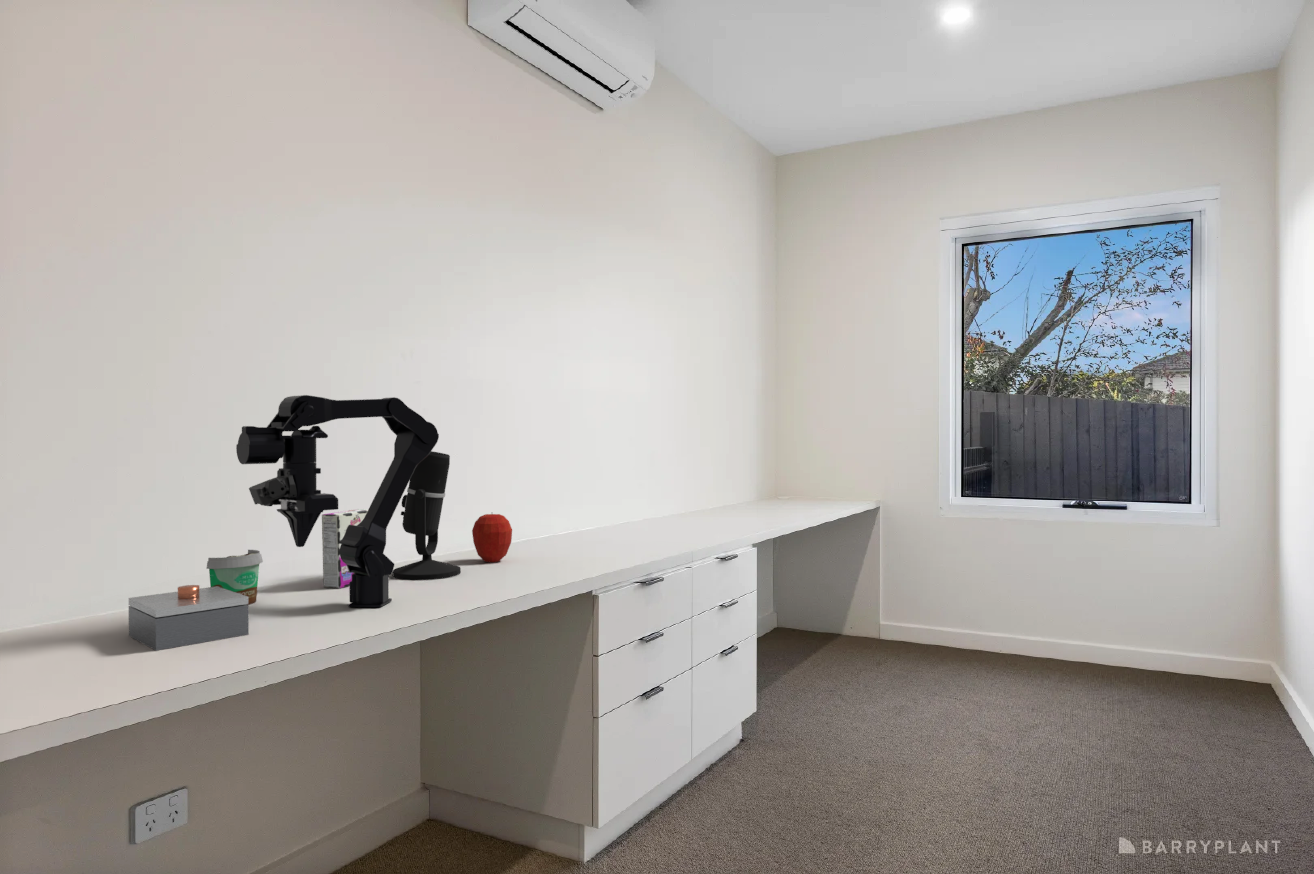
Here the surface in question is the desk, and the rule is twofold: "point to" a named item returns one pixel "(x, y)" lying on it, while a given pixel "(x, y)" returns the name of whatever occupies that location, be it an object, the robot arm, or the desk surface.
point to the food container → (236, 573)
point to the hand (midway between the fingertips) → (300, 546)
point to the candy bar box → (337, 546)
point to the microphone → (426, 518)
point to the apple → (492, 537)
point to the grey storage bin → (188, 626)
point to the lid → (187, 600)
